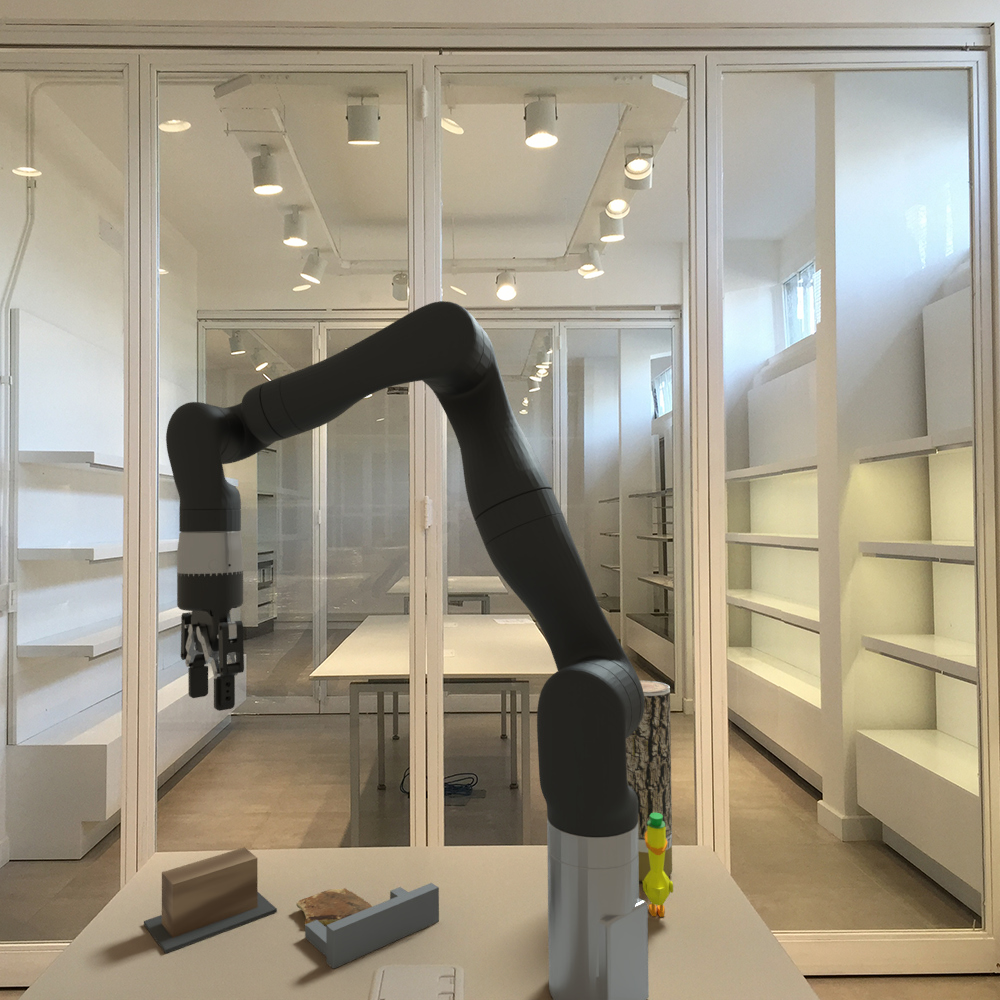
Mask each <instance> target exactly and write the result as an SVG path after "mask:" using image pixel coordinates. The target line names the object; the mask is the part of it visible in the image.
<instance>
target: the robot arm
mask: <svg viewBox="0 0 1000 1000" xmlns="http://www.w3.org/2000/svg"><path fill="white" fill-rule="evenodd" d="M420 381H422V382H423V383H424V384H426V386H428V387H429V388H430V390H432V392H433V393H434V395H435V397H436V398H437V400H438V402H439V404H440V406H441V407H442V409H443V411H444V413H445V415H446V417H447V419H448V421H449V423H450V426H451V428H452V430H453V432H454V435H455V438H456V439H457V443H458V446H459V449H460V455H461V460H462V470H463V479H464V483H465V484H464V485H465V486H464V487H465V491H466V496H467V501H468V505H469V508H470V511H471V514H472V517H473V519H474V523H475V525H476V527H477V530H478V534H479V535H480V538H481V540H482V542H483V544H484V548H485V549H486V552H487V554H488V556H489V559H490V561H491V563H492V564H493V566H494V568H495V569H496V571H497V572H498V573H499V574H500V576H501V578H502V579H503V580H504V581H505V582H506V584H507V585H508V587H509V588H510V589H511V590H512V591H513V592H514V594H515V595H516V596H517V597H518V598H519V600H520V601H521V602H522V604H523V605H525V606H526V608H527V609H528V611H529V612H530V613H531V614H532V615H533V618H534V619H535V620H536V622H537V623H538V625H539V627H540V629H541V630H542V633H543V635H544V637H545V639H546V641H547V644H548V647H549V649H550V652H551V654H552V658H553V660H554V663H555V666H556V669H557V671H556V672H554V673H553V674H552V675H550V677H549V678H548V679H547V680H546V681H545V683H544V685H543V687H542V688H541V691H540V693H539V697H538V701H537V702H538V703H537V711H536V712H537V713H536V731H537V736H536V737H537V756H538V757H537V758H538V773H539V774H538V775H539V777H538V778H539V786H540V790H541V792H542V793H541V794H542V795H543V798H544V801H545V803H546V816H547V818H546V819H547V822H546V824H547V828H546V829H547V833H546V834H547V927H548V928H547V931H548V933H547V934H548V937H547V938H548V949H547V950H548V990H549V993H550V996H551V997H552V1000H647V999H648V998H649V996H650V995H649V993H650V992H649V985H650V984H649V924H648V923H649V919H648V917H649V915H648V913H649V905H648V903H647V901H645V900H644V899H642V898H640V881H639V855H638V849H639V847H638V799H637V795H636V793H635V791H634V790H633V789H632V788H631V787H630V786H629V785H628V783H627V765H626V738H628V737H629V736H630V735H631V734H632V733H633V732H634V731H635V730H636V729H637V727H638V726H639V724H640V722H641V720H642V717H643V713H644V707H645V703H644V692H643V688H642V685H641V683H640V681H641V680H640V678H639V676H638V674H637V672H636V669H635V668H634V666H633V664H632V663H631V661H630V659H629V657H628V655H627V654H626V652H625V650H624V648H623V646H622V645H621V643H620V641H619V639H618V638H617V635H616V634H615V632H614V630H613V628H612V627H611V625H610V623H609V621H608V618H607V617H606V615H605V613H604V611H603V609H602V606H601V605H600V603H599V601H598V598H597V596H596V594H595V591H594V589H593V586H592V583H591V581H590V578H589V575H588V572H587V569H586V568H585V566H584V563H583V561H582V559H581V555H580V553H579V551H578V549H577V547H576V544H575V541H574V539H573V536H572V534H571V531H570V529H569V526H568V523H567V520H566V519H565V516H564V514H563V511H562V509H561V506H560V504H559V502H558V499H557V497H556V494H555V493H554V490H553V488H552V486H551V483H550V482H549V479H548V477H547V476H546V473H545V471H544V469H543V467H542V465H541V463H540V460H539V459H538V457H537V455H536V453H535V451H534V450H533V447H532V446H531V444H530V442H529V440H528V439H527V436H526V435H525V433H524V432H523V429H522V428H521V426H520V424H519V422H518V420H517V418H516V415H515V414H514V413H515V412H514V411H513V408H512V405H511V402H510V400H509V397H508V393H507V390H506V387H505V383H504V380H503V377H502V374H501V371H500V367H499V363H498V360H497V356H496V353H495V349H494V345H493V343H492V341H491V338H490V337H489V334H488V333H487V332H486V331H485V329H484V328H483V327H482V326H481V324H480V323H479V322H478V321H477V319H476V318H475V316H473V314H472V313H471V312H470V311H468V310H467V308H465V307H463V306H461V305H460V304H458V303H455V302H452V301H445V300H442V301H441V300H440V301H434V302H431V303H428V304H425V305H424V306H423V305H422V306H421V307H419V308H417V309H415V310H413V311H411V312H409V313H407V314H406V315H404V316H402V317H400V318H399V319H397V320H396V321H394V322H392V323H391V324H389V325H387V326H385V327H384V328H382V329H380V330H378V331H376V332H375V333H373V334H371V335H369V336H367V337H366V338H364V339H361V340H360V341H359V342H356V343H354V344H352V345H351V346H349V347H347V348H345V349H344V350H341V351H340V352H338V353H335V354H333V355H331V356H329V357H327V358H325V359H322V360H321V361H318V362H316V363H314V364H311V365H308V366H306V367H304V368H302V369H298V370H295V371H293V372H291V373H288V374H285V375H283V376H280V377H276V378H274V379H271V380H268V381H265V382H263V383H261V384H258V385H255V386H254V387H252V388H250V389H249V390H248V391H246V392H245V394H244V395H243V397H242V399H241V402H240V403H238V404H234V405H232V406H228V407H220V406H217V405H212V404H209V403H206V402H200V401H199V402H198V401H191V402H187V403H184V404H182V405H180V406H179V407H178V408H176V409H175V411H174V412H173V413H172V415H171V417H170V419H169V421H168V424H167V427H166V435H165V441H166V451H167V455H168V460H169V464H170V467H171V472H172V476H173V480H174V483H175V486H176V490H177V492H178V496H179V509H178V510H179V511H178V512H179V516H178V517H179V518H178V519H179V522H178V523H179V529H178V531H179V533H178V534H179V535H178V543H177V550H176V551H177V552H176V592H177V593H176V595H177V596H176V605H177V606H176V607H177V608H178V609H180V610H182V611H187V612H183V613H182V614H181V618H180V620H181V628H180V631H181V632H180V635H181V636H180V658H181V659H180V660H182V661H184V662H185V666H186V667H187V668H188V672H187V673H188V674H187V675H188V676H187V677H188V696H189V697H190V698H192V699H198V698H204V697H206V696H208V694H209V666H208V664H210V666H211V670H212V674H213V708H214V709H215V710H216V711H219V712H222V711H226V710H231V709H233V708H234V707H235V703H236V702H235V701H236V697H235V696H236V695H235V694H236V691H235V689H236V688H235V687H236V684H235V683H236V681H235V678H236V676H238V674H242V673H243V672H244V671H245V657H244V625H243V624H244V623H243V622H242V620H232V619H231V610H232V609H237V608H240V607H241V606H243V604H244V548H243V546H244V545H243V540H242V532H241V531H242V526H241V525H242V519H241V518H242V514H241V513H242V512H241V511H242V502H241V494H240V491H239V489H238V488H237V487H236V486H235V485H233V484H232V483H230V482H229V481H228V480H227V478H226V476H225V471H224V466H223V465H227V464H233V463H236V462H239V461H243V460H245V459H247V458H250V457H252V456H254V455H256V454H257V453H259V452H261V451H263V450H264V449H266V448H269V447H270V446H271V445H273V444H274V443H276V442H278V441H282V440H285V439H289V438H292V437H294V436H297V435H300V434H303V433H306V432H308V431H311V430H314V429H317V428H319V427H322V426H324V425H326V424H328V423H330V422H331V421H333V420H335V419H336V418H339V416H341V415H342V414H344V413H345V412H346V411H347V410H349V409H351V408H352V407H353V406H354V405H356V404H358V403H359V402H360V401H362V400H363V399H365V398H367V397H368V396H371V395H373V394H375V393H377V392H379V391H381V390H384V389H388V388H391V387H394V386H400V385H404V384H408V383H413V382H420Z"/></svg>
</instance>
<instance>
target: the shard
mask: <svg viewBox="0 0 1000 1000" xmlns="http://www.w3.org/2000/svg"><path fill="white" fill-rule="evenodd" d="M296 907H297V908H298V909H300V910H301V911H303V913H304V916H305V920H304V925H305V924H308V923H310V922H313V921H315V920H318V921H319V922H320V923H321V924H323V925H324V926H325V927H326V925H328V924H331V923H333V922H336V921H338V920H341V919H343V918H346V917H348V916H350V915H353V914H355V913H358V912H360V911H363V910H365V909H368V908H370V907H373V905H372V904H370V902H368V901H366V900H364V898H363V897H360V896H359V895H357V894H356V893H354V892H353V891H350V890H348V889H347V888H346V887H345V888H330V889H328V890H324V891H321V892H319V893H316V894H314V895H311V896H309V897H305V898H302V899H300V900H298V901H297V902H296Z"/></svg>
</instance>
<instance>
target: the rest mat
mask: <svg viewBox="0 0 1000 1000" xmlns="http://www.w3.org/2000/svg"><path fill="white" fill-rule="evenodd" d="M277 910H278V909H277V908H276V907H275V906H274V905H273V904H272V903H271V902H270V901H269V900H268V899H266V897H264V896H263V895H262V894H261V893H260V892H259V891H258V907H257V908H254V909H251V910H249V911H246V912H243V913H240V914H237V915H235V916H232V917H229V918H226V919H224V920H221V921H218V922H215V923H212V924H210V925H207V926H204V927H201V928H199V929H196V930H193V931H190V932H187V933H185V934H182V935H179V936H176V937H174V938H172V936H171V935H170V934H169V932H168V931H167V930H166V928H165V927H164V926H163V925H162V914H160V915H157V916H155V917H152V918H149V919H146V920H143V925H144V927H145V929H146V930H147V931H148V932H149V934H150V935H151V936H152V937H153V939H154V940H155V942H156V943H157V944H158V945H159V947H160V948H161V950H162V951H163V952H164V953H165V954H168V953H171V952H173V951H176V950H179V949H182V948H185V947H186V946H187V947H188V946H190V945H192V944H195V943H197V942H201V941H202V940H205V939H208V938H212V937H214V936H216V935H219V934H222V933H224V932H226V931H230V930H233V929H235V928H238V927H240V926H244V925H246V924H249V923H251V922H254V921H257V920H259V919H262V918H265V917H267V916H270V915H273V914H275V913H278V911H277Z"/></svg>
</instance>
